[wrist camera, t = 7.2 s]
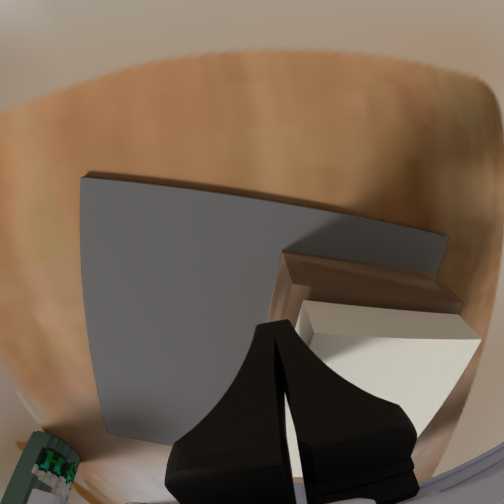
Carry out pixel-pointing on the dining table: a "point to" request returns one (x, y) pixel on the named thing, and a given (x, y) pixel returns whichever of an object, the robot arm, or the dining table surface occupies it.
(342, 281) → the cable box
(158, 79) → the dining table surface
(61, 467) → the can
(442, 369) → the lid
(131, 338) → the desk mat
